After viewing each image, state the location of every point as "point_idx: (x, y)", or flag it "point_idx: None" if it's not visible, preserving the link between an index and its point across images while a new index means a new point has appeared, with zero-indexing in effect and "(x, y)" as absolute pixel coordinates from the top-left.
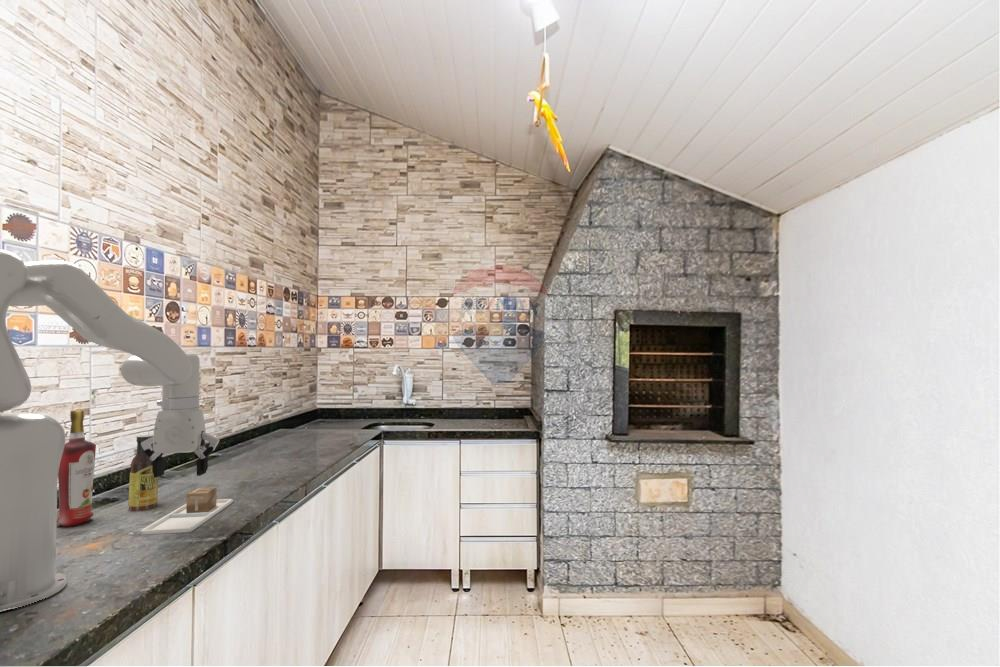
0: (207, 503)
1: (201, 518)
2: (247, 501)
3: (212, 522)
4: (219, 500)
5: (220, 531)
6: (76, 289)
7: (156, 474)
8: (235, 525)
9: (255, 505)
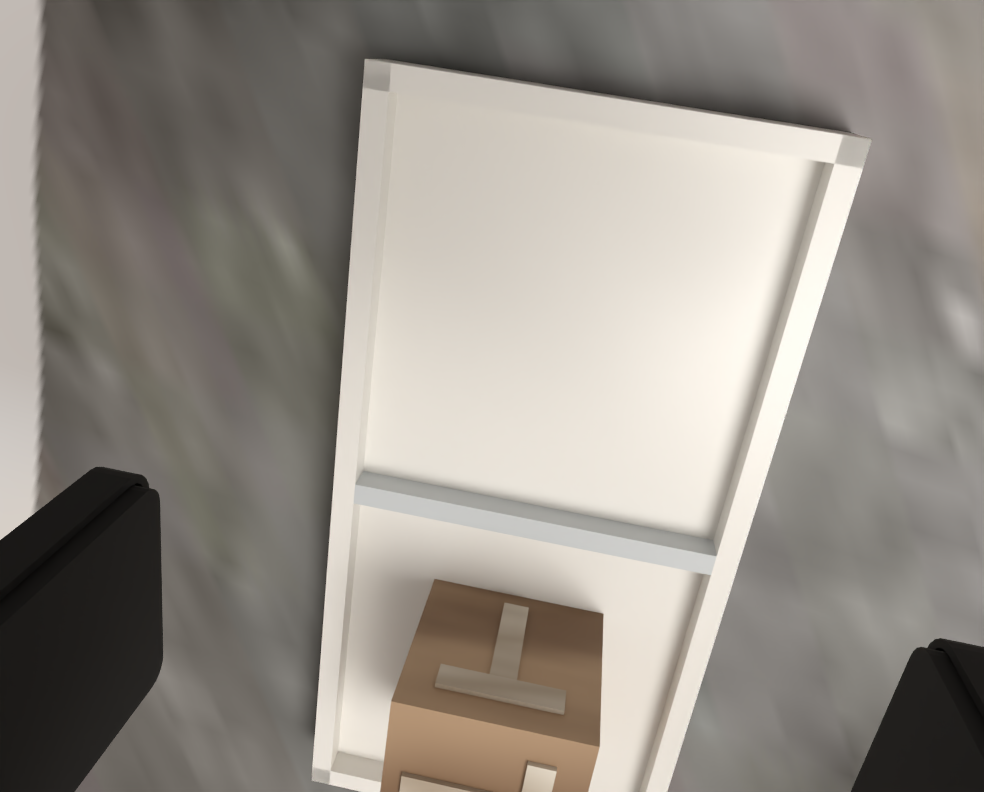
0: (417, 633)
1: (419, 429)
2: (251, 776)
3: (326, 370)
4: None
5: (157, 94)
6: None
7: (950, 681)
8: (95, 222)
9: None
